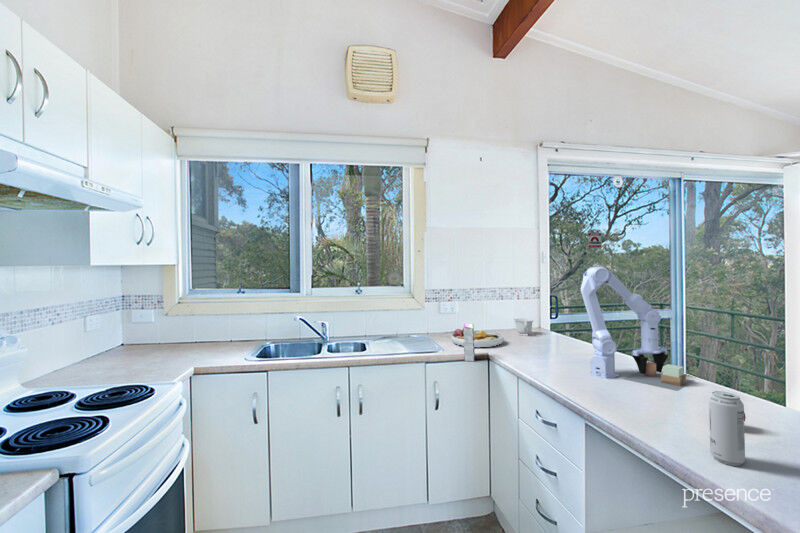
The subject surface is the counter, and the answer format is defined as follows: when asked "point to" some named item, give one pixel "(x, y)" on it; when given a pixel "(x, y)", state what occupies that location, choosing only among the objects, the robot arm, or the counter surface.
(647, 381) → the rubber mat
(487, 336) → the bowl
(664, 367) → the sage top block
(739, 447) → the energy drink can
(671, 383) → the walnut base block
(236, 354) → the counter surface
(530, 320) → the white planter pot
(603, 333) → the robot arm
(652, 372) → the terracotta cylinder
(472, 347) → the candy bar box
